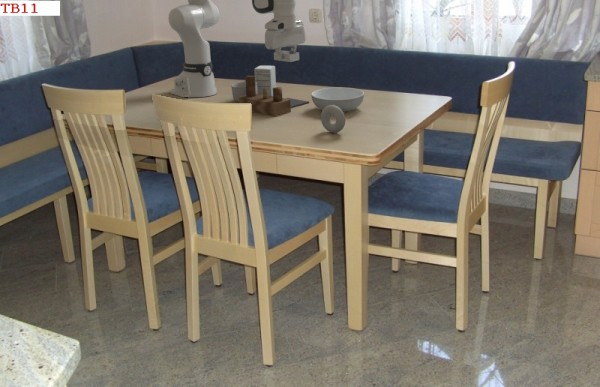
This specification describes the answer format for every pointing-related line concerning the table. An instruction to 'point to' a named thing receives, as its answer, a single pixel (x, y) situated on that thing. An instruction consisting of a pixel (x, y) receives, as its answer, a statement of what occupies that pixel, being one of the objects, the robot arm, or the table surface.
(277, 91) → the wooden peg stand
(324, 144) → the table surface
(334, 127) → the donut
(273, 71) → the supplement box
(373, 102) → the table surface
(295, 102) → the rubber mat
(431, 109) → the table surface
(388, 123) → the table surface
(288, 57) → the lever cap
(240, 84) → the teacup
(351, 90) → the serving bowl
